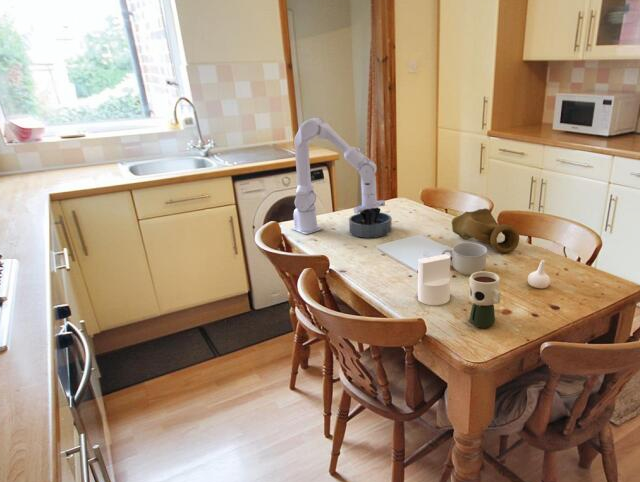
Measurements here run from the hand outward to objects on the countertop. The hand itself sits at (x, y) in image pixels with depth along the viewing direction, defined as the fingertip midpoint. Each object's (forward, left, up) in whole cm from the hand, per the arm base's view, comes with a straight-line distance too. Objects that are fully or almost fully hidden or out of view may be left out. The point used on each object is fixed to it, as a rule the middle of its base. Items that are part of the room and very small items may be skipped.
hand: (370, 226), depth 183 cm
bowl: (0, 0, -2) cm, 2 cm away
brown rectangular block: (0, 0, -1) cm, 1 cm away
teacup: (+50, -5, -2) cm, 50 cm away
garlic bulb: (+72, +2, -2) cm, 72 cm away
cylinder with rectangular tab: (+55, -25, -2) cm, 60 cm away
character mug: (+73, -27, -2) cm, 78 cm away
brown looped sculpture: (+40, +19, -2) cm, 44 cm away
